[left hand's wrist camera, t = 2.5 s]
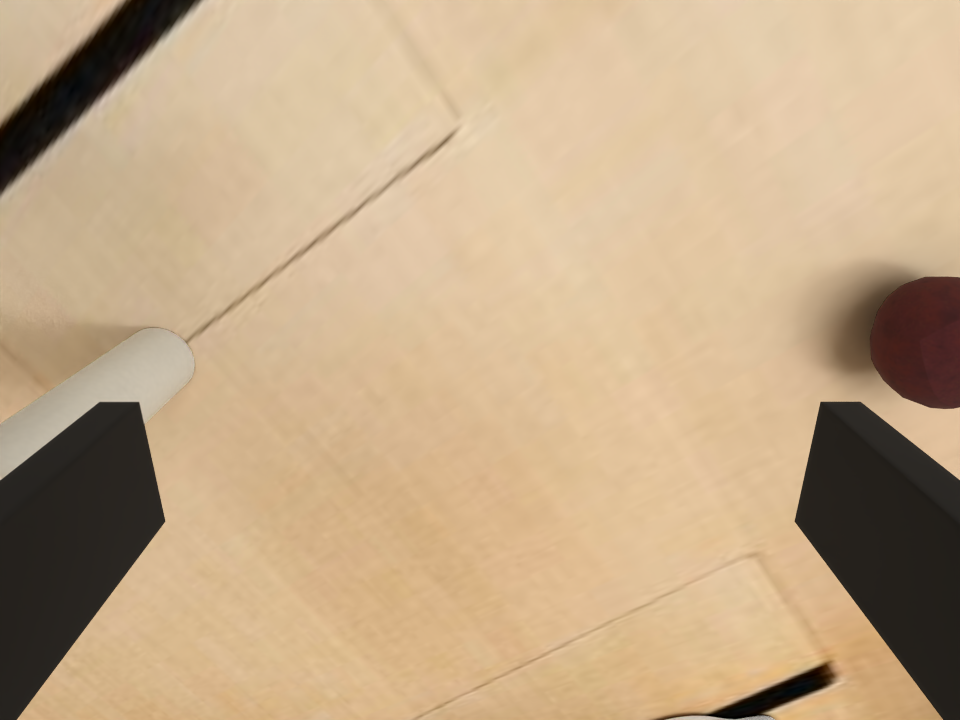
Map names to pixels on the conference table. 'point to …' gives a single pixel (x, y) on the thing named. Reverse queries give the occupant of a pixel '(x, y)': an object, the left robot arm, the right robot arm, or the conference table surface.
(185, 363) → the off-white tall cylinder
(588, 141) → the conference table surface
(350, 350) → the conference table surface
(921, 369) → the potato
